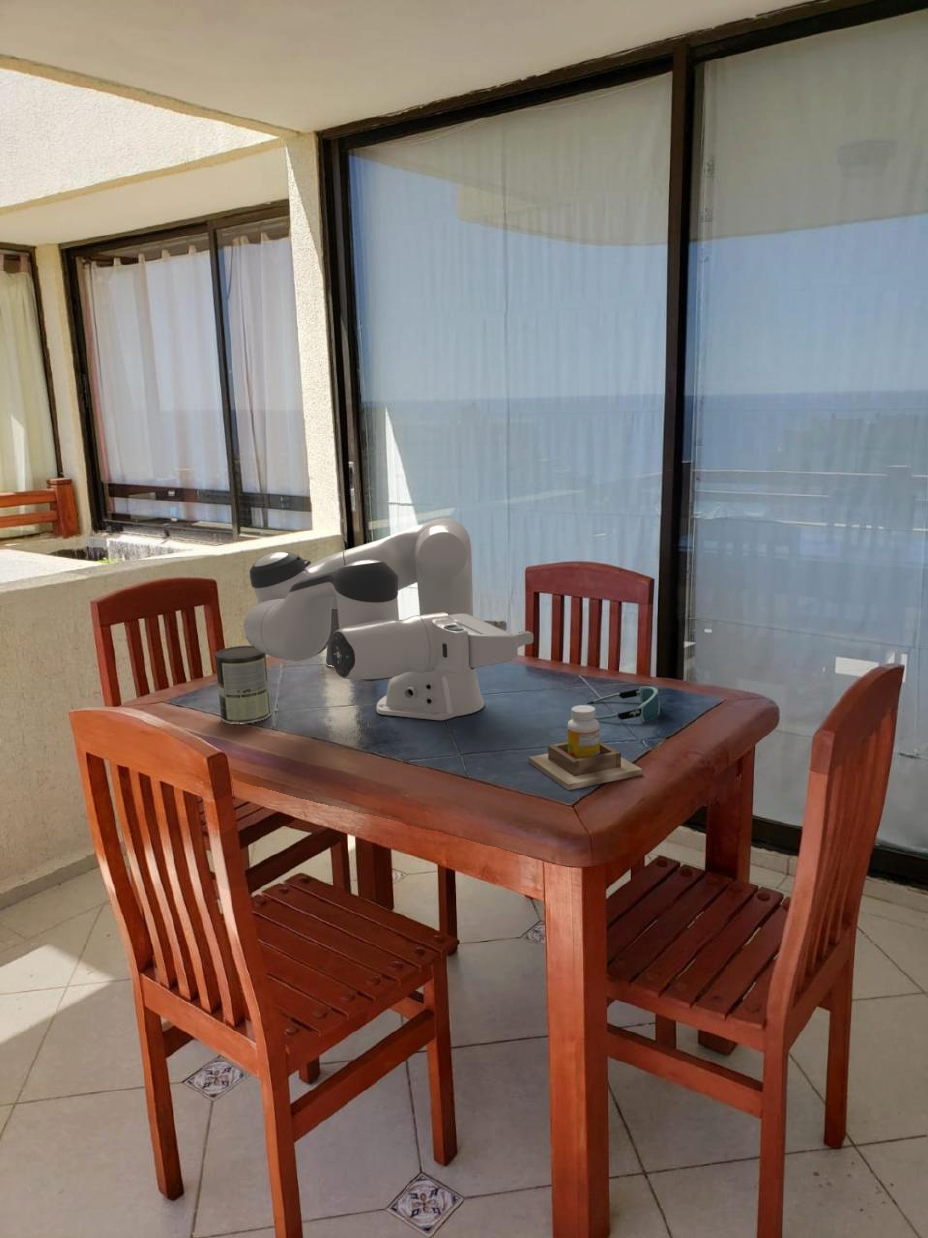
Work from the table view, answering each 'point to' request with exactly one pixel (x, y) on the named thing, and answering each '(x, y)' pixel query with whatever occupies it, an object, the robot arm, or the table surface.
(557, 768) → the collar board
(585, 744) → the supplement bottle
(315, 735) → the table surface
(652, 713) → the sunglasses
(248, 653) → the coffee can
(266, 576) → the robot arm
